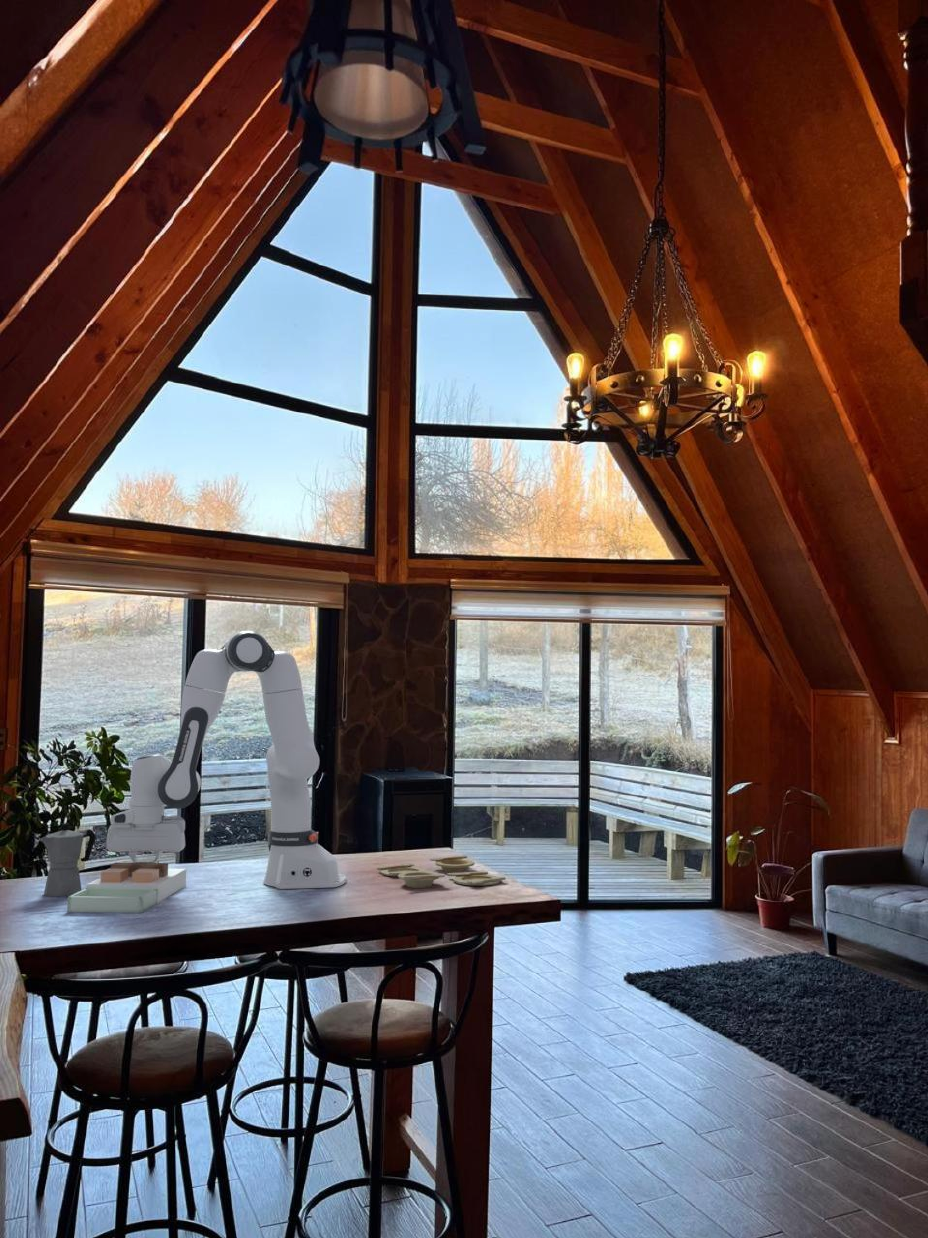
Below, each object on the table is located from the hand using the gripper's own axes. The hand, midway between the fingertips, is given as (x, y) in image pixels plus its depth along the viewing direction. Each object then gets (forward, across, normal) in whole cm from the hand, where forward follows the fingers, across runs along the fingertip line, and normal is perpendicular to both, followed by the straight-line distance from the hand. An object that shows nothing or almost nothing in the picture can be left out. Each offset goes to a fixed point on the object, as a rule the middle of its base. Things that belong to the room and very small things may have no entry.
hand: (145, 868), depth 245 cm
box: (+6, 0, +20) cm, 21 cm away
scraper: (+1, 0, 0) cm, 1 cm away
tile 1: (+1, -4, +10) cm, 11 cm away
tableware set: (+6, -77, -21) cm, 80 cm away
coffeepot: (+6, +19, +4) cm, 20 cm away
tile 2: (+1, +4, +10) cm, 11 cm away
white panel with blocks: (+6, 0, +4) cm, 7 cm away
